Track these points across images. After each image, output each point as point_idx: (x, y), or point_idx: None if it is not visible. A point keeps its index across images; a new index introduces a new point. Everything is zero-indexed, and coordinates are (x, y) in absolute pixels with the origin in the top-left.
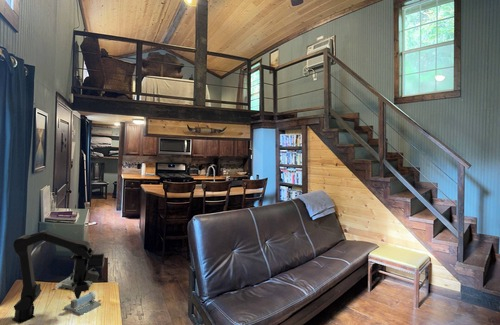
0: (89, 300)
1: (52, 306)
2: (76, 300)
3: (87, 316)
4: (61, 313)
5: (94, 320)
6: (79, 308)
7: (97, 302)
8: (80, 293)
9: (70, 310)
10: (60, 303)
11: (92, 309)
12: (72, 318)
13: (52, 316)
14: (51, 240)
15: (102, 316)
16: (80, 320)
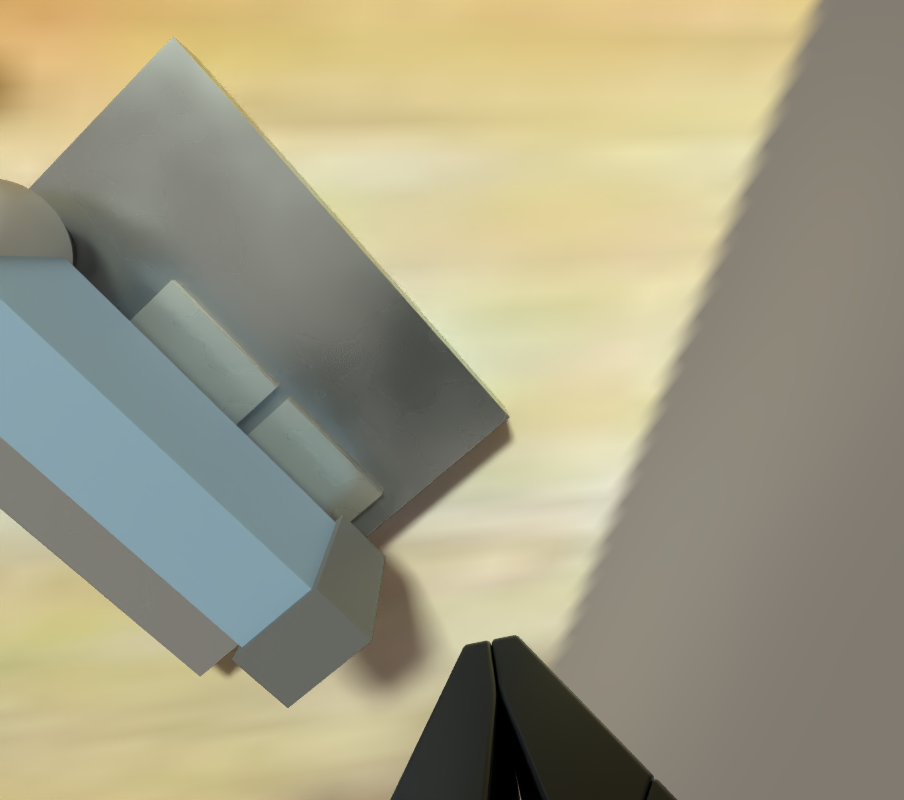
0: (101, 297)
1: (107, 796)
2: (301, 602)
3: (568, 295)
4: (354, 663)
5: (747, 172)
6: (340, 452)
7: (129, 124)
8: (636, 768)
9: None
10: (20, 718)
11: (341, 222)
12: (555, 508)
13: (412, 750)
14: None
15: (660, 25)
16: (660, 393)
